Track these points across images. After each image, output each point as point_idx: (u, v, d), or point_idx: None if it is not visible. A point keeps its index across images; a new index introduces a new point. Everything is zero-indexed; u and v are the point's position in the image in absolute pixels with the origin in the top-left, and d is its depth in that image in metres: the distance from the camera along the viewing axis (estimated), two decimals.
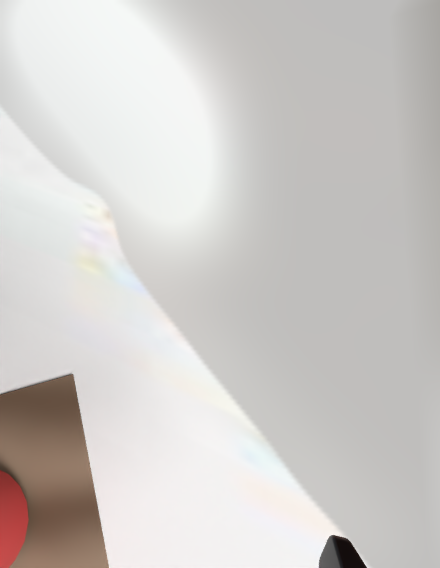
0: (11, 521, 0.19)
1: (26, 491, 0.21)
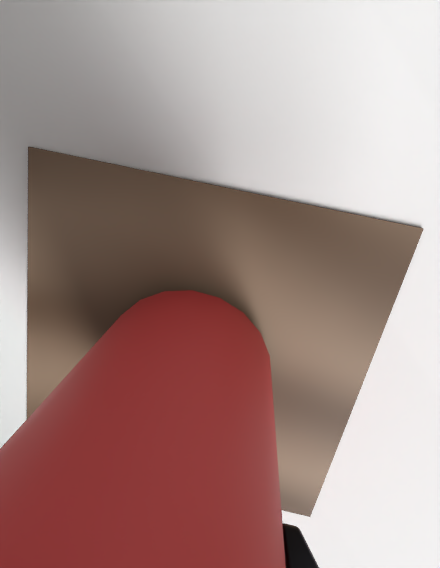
0: None
1: None
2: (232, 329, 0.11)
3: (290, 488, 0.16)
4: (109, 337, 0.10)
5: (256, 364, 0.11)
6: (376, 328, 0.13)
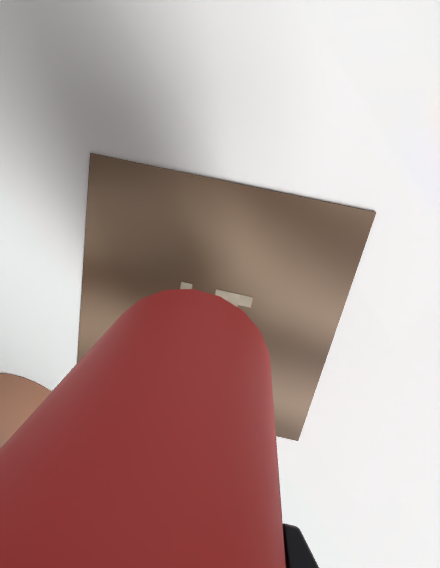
0: None
1: (262, 311, 0.19)
2: (232, 327, 0.11)
3: (282, 417, 0.21)
4: (110, 335, 0.10)
5: (256, 361, 0.11)
6: (344, 287, 0.18)
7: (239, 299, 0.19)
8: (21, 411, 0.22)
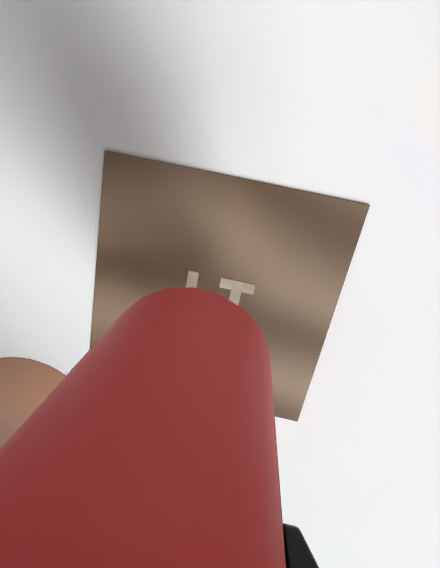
0: None
1: (264, 298, 0.20)
2: (232, 324, 0.11)
3: (282, 398, 0.22)
4: (112, 332, 0.10)
5: (256, 357, 0.11)
6: (341, 275, 0.19)
7: (242, 287, 0.20)
8: (36, 394, 0.24)
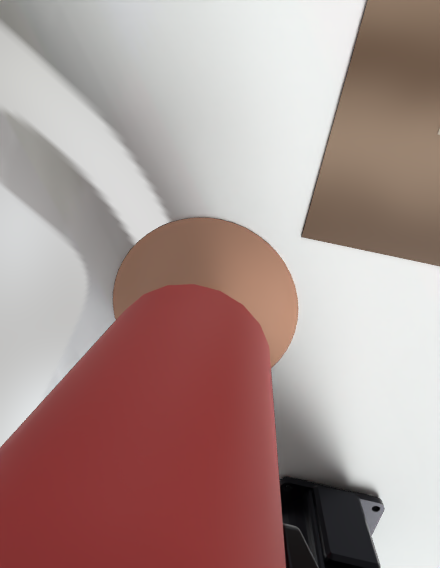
0: None
1: None
2: (232, 319, 0.11)
3: None
4: (115, 328, 0.11)
5: (256, 352, 0.11)
6: None
7: None
8: (221, 271, 0.18)
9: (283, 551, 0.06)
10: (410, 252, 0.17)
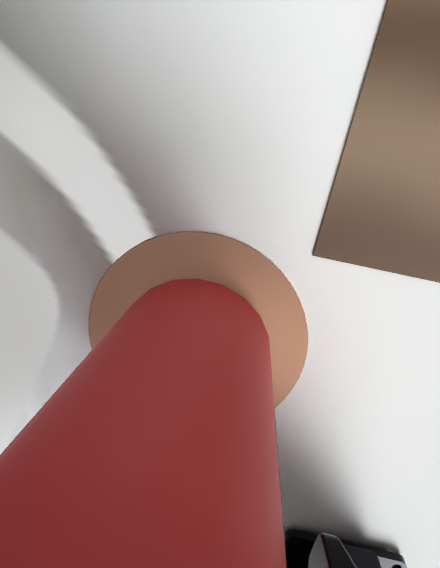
0: None
1: None
2: (233, 310, 0.12)
3: None
4: (126, 319, 0.11)
5: (256, 339, 0.12)
6: None
7: None
8: None
9: (280, 508, 0.07)
10: None
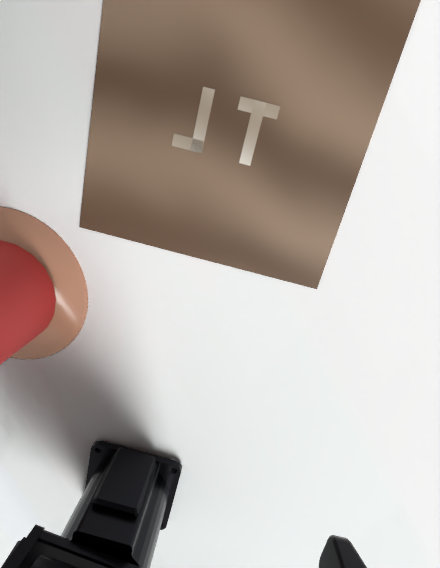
0: (38, 316, 0.19)
1: (289, 124, 0.17)
2: (3, 258, 0.18)
3: (302, 259, 0.19)
4: None
5: (12, 277, 0.18)
6: (381, 93, 0.16)
7: (264, 110, 0.17)
8: None
9: None
10: (168, 244, 0.20)
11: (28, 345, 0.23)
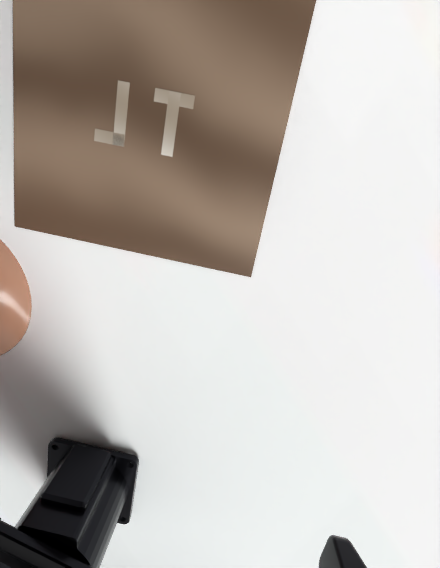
0: None
1: (206, 113, 0.17)
2: None
3: (233, 248, 0.19)
4: None
5: None
6: (292, 77, 0.16)
7: (180, 100, 0.17)
8: None
9: None
10: (101, 238, 0.20)
11: None
